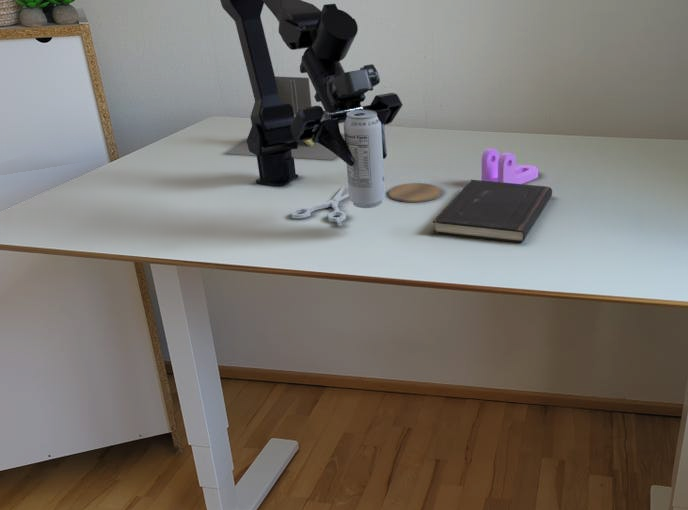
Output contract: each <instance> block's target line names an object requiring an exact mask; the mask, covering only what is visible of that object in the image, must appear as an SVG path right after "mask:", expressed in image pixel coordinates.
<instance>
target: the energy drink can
mask: <svg viewBox="0 0 688 510" xmlns="http://www.w3.org/2000/svg"><path fill="white" fill-rule="evenodd" d="M343 135H344V136H345V143H346V145H347V147H348V149H349V150H350V152H351V155H352V157H353V160H354V165H353V166H349V165H348V164H347V163H346V172H347V173H346V174H347V185H348V193H349V197H348V199H349V201H350V202H352V205H353V206H354V207H356V208H359V209H373V208H377V207H380V206H381V205H382V204H383V201H385V199H386V191H385V171H384V170H385V169H384V159H383V149H382V130H381V122H380V120H379V119H378V117H377V112H375V111H372V110H354V111H350V112H348V113H347V118H346V120H345V122H343Z"/></svg>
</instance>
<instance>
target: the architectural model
mask: <svg viewBox="0 0 688 510" xmlns="http://www.w3.org/2000/svg"><path fill="white" fill-rule="evenodd" d="M275 79H276V83H277V87H278V91H279V95H280V97H281V98H282V99H283V100H284V101H285V102H286V104H288V103H290V104H291V106H292V107H293V112H294V117H295V116H296V114H297V112H298V110H299V109H300V108H306V107H312V106H313V105H312V96H311V88H310V87H311V85H310V78H309V77H299V76H298V77H297V76H276V75H275ZM341 135H342V137H343V139H344V141H345V136H344V134H341ZM313 136H314V135H313ZM312 138H313V137H312ZM291 153H292V157H293V158H294V159H310V160H326V161H332V160H334V159H335V158H336V157H338V156H337V155H336V154H334V153H333V152H332V151H330V150H329V149H327V148H325V147H324V146H322V145H321V144H319V143H313V141H312V139H310V140H305V141H300V142H298V149H292V150H291ZM225 154H226V155H238V156H239V155H242V156H256V157H257V155H255V154H253V153H251V152H250V151H249V148H248V145H247V140H245V141H244V142H242V143H241V144H239V145H237V146H236V147H234V148H233V149H231V150H229V151H228V152H226V153H225Z"/></svg>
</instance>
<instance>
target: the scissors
mask: <svg viewBox="0 0 688 510" xmlns="http://www.w3.org/2000/svg"><path fill="white" fill-rule="evenodd" d="M345 186H346V184H345V185H343V186H342V187H341V189H339V190H338V191H337V193H336V194H335V195H334V197H333V198H332V199H329V200H327V201H326V202H323V203H320V204H317V205H313V206H311V207H302V208H297V209H294V210H292V211H291V212H290V213H291V218H292V219H297V220H298V219H305V218H308V217H310V216H312V213H313V212H314V211H317V210H322V209H327V208H332V209H333V211H331V212H328V213H327V219H328V221H330V222H335V223H336V224H337V226H338V227H341V226H342V222H343V221H344V220H346V218H347V214H346V212H344V211H342V210H340V207H339V203H340V202H342V201H343V200H345V199H347V198H349V192H348V193H346V194H344V195H343V193H344V189H345ZM336 216H337V217H336Z"/></svg>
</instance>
